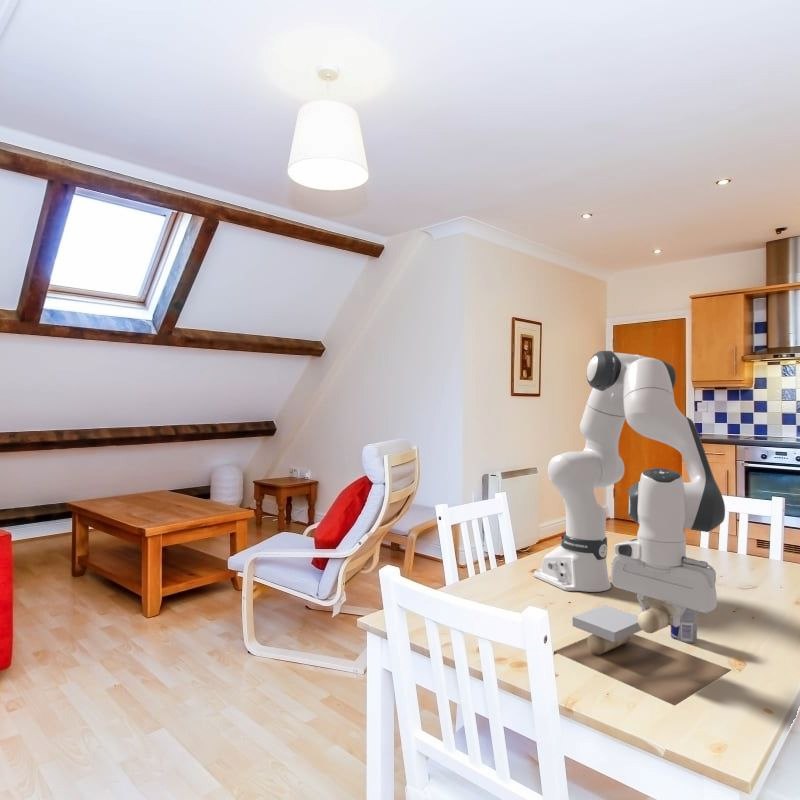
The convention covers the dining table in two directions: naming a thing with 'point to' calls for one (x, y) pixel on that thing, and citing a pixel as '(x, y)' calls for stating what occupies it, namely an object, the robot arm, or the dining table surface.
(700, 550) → the dining table surface
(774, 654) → the dining table surface
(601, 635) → the slab
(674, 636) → the energy drink
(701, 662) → the board
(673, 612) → the roller
